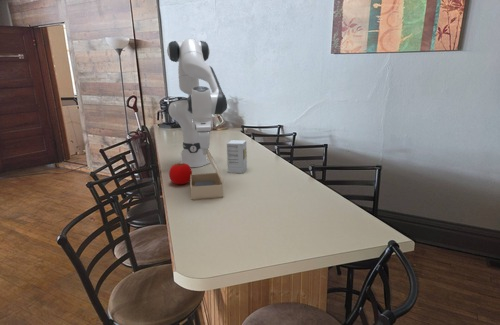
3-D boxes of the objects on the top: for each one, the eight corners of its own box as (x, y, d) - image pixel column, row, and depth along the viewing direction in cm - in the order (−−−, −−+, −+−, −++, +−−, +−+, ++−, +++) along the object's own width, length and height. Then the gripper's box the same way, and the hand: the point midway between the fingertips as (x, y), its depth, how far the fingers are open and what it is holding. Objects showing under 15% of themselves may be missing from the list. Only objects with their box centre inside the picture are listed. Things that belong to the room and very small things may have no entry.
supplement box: (243, 173, 177) (242, 143, 172) (227, 172, 178) (226, 143, 174) (247, 168, 186) (246, 140, 181) (231, 167, 187) (230, 139, 183)
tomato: (170, 188, 157) (168, 167, 154) (169, 180, 168) (167, 161, 165) (193, 185, 159) (192, 165, 156) (191, 178, 171) (189, 159, 168)
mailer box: (191, 186, 159) (190, 174, 157) (219, 183, 161) (218, 172, 159) (191, 199, 142) (190, 187, 140) (222, 197, 144) (222, 184, 142)
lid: (205, 147, 155) (206, 146, 155) (218, 171, 159) (220, 171, 159) (207, 156, 138) (208, 155, 138) (222, 183, 142) (223, 183, 142)
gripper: (195, 121, 152) (197, 149, 156) (196, 128, 133) (198, 160, 136) (208, 120, 153) (210, 148, 157) (211, 127, 134) (213, 159, 137)
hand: (204, 154), depth 146 cm, fingers closed, pressing on lid
